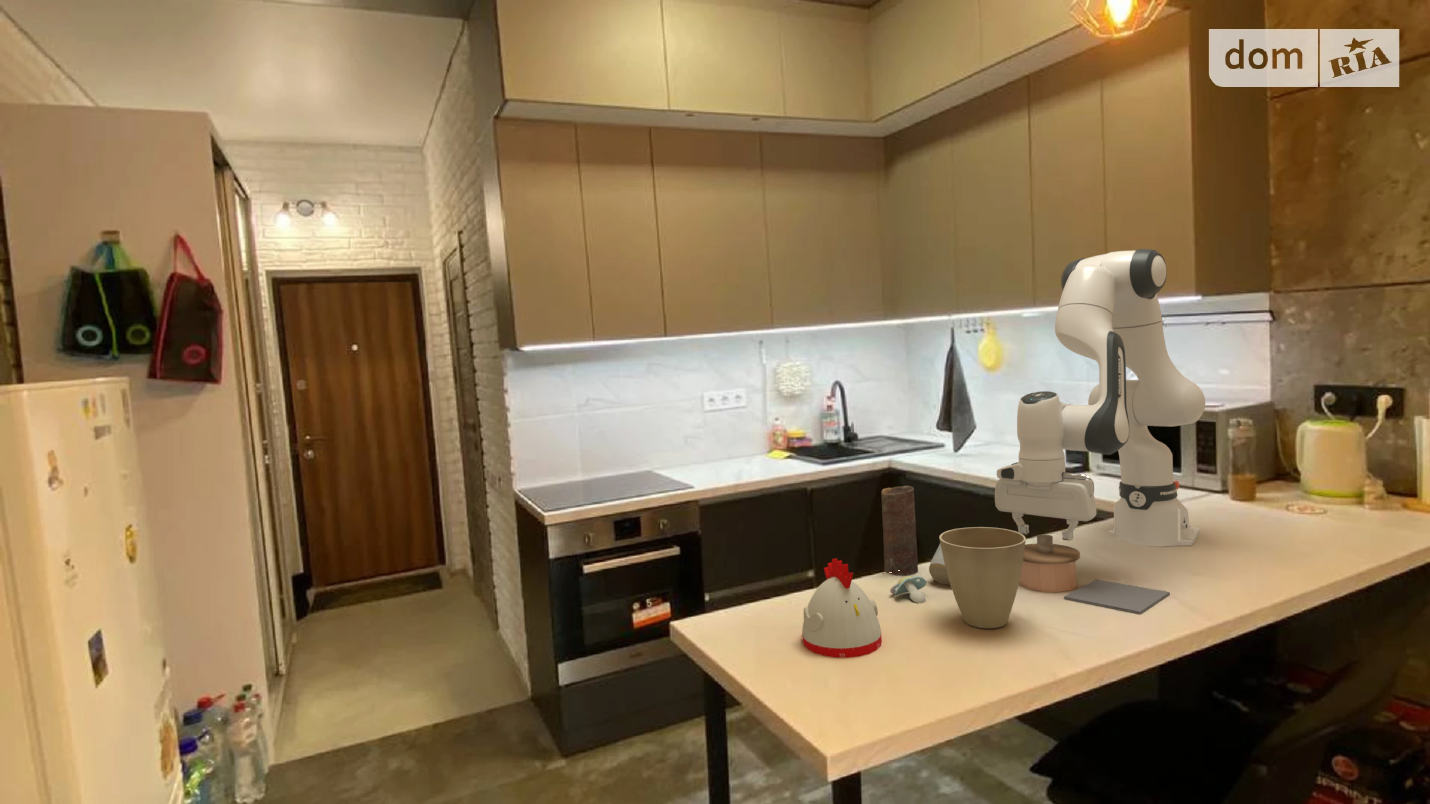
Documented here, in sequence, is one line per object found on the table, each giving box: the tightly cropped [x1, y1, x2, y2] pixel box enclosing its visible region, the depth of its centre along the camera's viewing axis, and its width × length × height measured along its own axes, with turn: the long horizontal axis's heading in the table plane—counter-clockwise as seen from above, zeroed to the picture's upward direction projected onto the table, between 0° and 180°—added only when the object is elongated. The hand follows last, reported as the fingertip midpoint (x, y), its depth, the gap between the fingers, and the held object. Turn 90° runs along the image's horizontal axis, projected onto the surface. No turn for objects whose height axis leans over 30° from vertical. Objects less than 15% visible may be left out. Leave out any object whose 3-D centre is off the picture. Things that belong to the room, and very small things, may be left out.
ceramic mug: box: [928, 543, 951, 586], centre depth 163 cm, size 11×8×8 cm
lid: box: [1023, 534, 1081, 564], centre depth 160 cm, size 13×13×5 cm
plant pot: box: [938, 526, 1027, 629], centre depth 141 cm, size 15×15×16 cm
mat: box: [1063, 578, 1171, 615], centre depth 150 cm, size 14×14×1 cm
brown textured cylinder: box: [881, 485, 919, 577], centre depth 172 cm, size 8×7×20 cm
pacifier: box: [889, 575, 927, 604], centre depth 156 cm, size 7×6×6 cm
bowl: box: [1019, 561, 1077, 593], centre depth 161 cm, size 11×11×6 cm
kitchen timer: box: [801, 557, 883, 659], centre depth 137 cm, size 14×14×15 cm
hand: (1045, 536), depth 160 cm, fingers open, 8 cm apart
